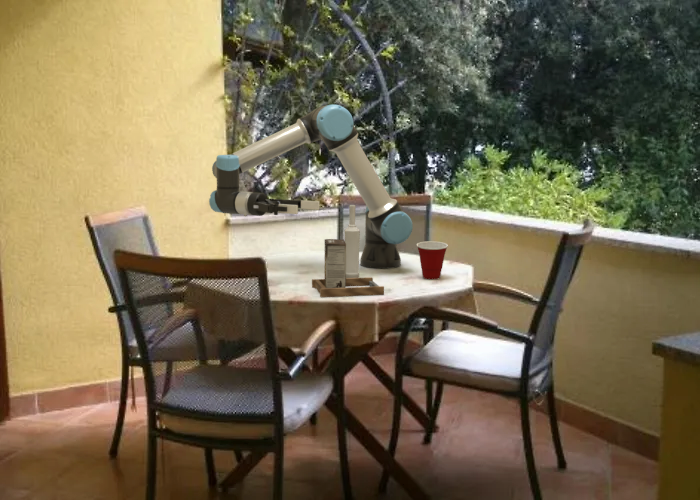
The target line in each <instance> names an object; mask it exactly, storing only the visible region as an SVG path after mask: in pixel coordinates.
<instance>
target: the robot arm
mask: <svg viewBox="0 0 700 500" xmlns="http://www.w3.org/2000/svg"><path fill="white" fill-rule="evenodd" d="M358 136H359V132H358V130H357V128H356V127H355V125H354V119H353V116H352V114H351V113H350V111H349V110H348V109H347V108H345V107H344V106H341V105H339V104H327V105H321V106H319V107H317V108H314V110H312V111H310V112H308V113H307V114H305V115H304V116H302V117H299V118H297V120H296V122H295V123H294V124H292V125H289V126H288V127H285V128H283V129H281V130H278V131H277V132H275V133H273V134H271V135H268V136H266V137H264V138H262V139H260V140H257V141H256V142H254V143H252V144H249V145H247V146H245V147H243V148H241V149H239V150H236V151H234V152H232V153H231V154H218V155H217V156H216V160H215V161H214V162H213V163H212V167H211V169H212V170H211V171H212V174H213V176H214V177H215V179H216V190H213V191H212V192H211V193H210V197H209V198H208V199H209V200H208V202H209V206H210V209H211V210H212V211H213V212H216V213H222V214H229V215H233V214H234V215H243V217H247V215H248V216H258V217H263V216H264V215H265V214H266V213H268V214H273V215H274V216H278V215H279V214H289V215H291V214H292V215H298V213H299V211H298V210H299V209H301V210H313V211H315V210H316V211H319V210H320V200H305V199H304V198H303V197H301V198H300V199H281V198H268V197H267V195H266V194H265V193H264V192H253V191H240V175H241V174H243V173H245V172H247V171H249V170H252V169H253V168H255V167H257V166H259V165H261V164H264V163H265V162H267V161H270V160H272V159H274V158H276V157H279V156H280V155H282V154H285V153H287V152H289V151H291V150H293V149H295V148H297V147H299V146H302V145H304V144H308V145H310V144H312V143H314V142H318V141H320V140H322V141H323V143H324V145H325V146H326V147H327V149H328V151H329V152H333V153H335V154H336V156H337V158H338V160H339V161H340V163H341V164H342V166H343V168H344V170H345V171H346V173H347V175H348V176H349V178H350V179H351V181H352V183H353V185H354V187H355V189H356V190H357V191H358V194H359V195H360V197H361V199H362V200H363V202H364V204H365V212H364V214H365V235H364V237H365V239H364V241H365V242H364V243H365V245H364V247H363V251H362V254H361V256H360V258H359V266H362V267H366V268H372V269H391V268H392V269H394V268H397V267H400V266H401V265H402V262H401V261H402V258H401V256H400V252H399V248H398V247H397V245H398V244H403V243H405V242H406V241H407V240H408V239H409V238H410V236H411V235H412V232H413V228H414V227H413V221H412V219H411V217H410V215H408V213H406V212H404V211H403V209H402V207H401V205H400V203H399V202H398V200H397V199H395V198H391V197H390V195H389V193H388V191H387V190H386V188H385V185H384V184H383V183H382V181H381V179H380V178H379V176H378V174H377V172H376V170H375V169H374V167H373V165H372V164H371V162H370V159H368V156H367V155H366V153H365V151H364V149H363V148H362V146H361V144H360V143H359V141H358Z"/></svg>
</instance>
